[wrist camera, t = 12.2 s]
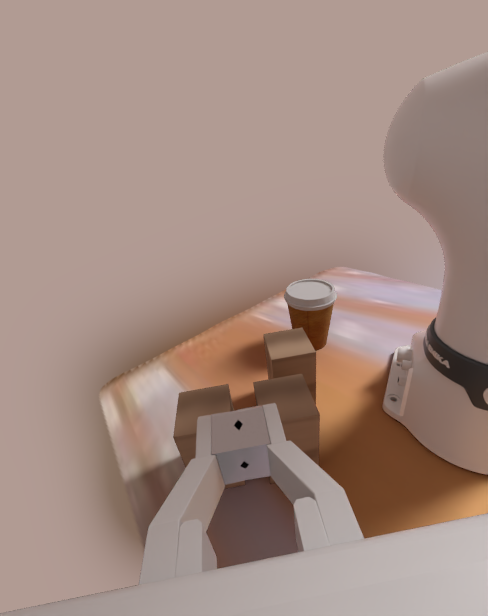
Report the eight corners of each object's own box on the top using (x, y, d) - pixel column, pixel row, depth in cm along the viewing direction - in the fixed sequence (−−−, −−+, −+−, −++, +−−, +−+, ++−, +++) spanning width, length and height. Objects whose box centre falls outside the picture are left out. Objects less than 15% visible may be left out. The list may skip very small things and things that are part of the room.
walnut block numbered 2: (315, 408, 41) (315, 352, 36) (277, 415, 41) (271, 359, 36) (303, 379, 47) (301, 326, 41) (269, 385, 46) (263, 333, 41)
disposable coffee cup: (303, 323, 61) (302, 274, 55) (343, 337, 55) (346, 284, 49) (277, 344, 56) (273, 293, 50) (318, 362, 50) (319, 306, 44)
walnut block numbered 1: (318, 474, 33) (319, 414, 28) (270, 483, 33) (261, 424, 27) (303, 429, 38) (301, 372, 33) (261, 437, 38) (252, 380, 33)
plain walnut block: (245, 484, 33) (231, 426, 28) (196, 494, 33) (173, 437, 27) (240, 440, 38) (228, 384, 33) (198, 448, 38) (179, 392, 33)
